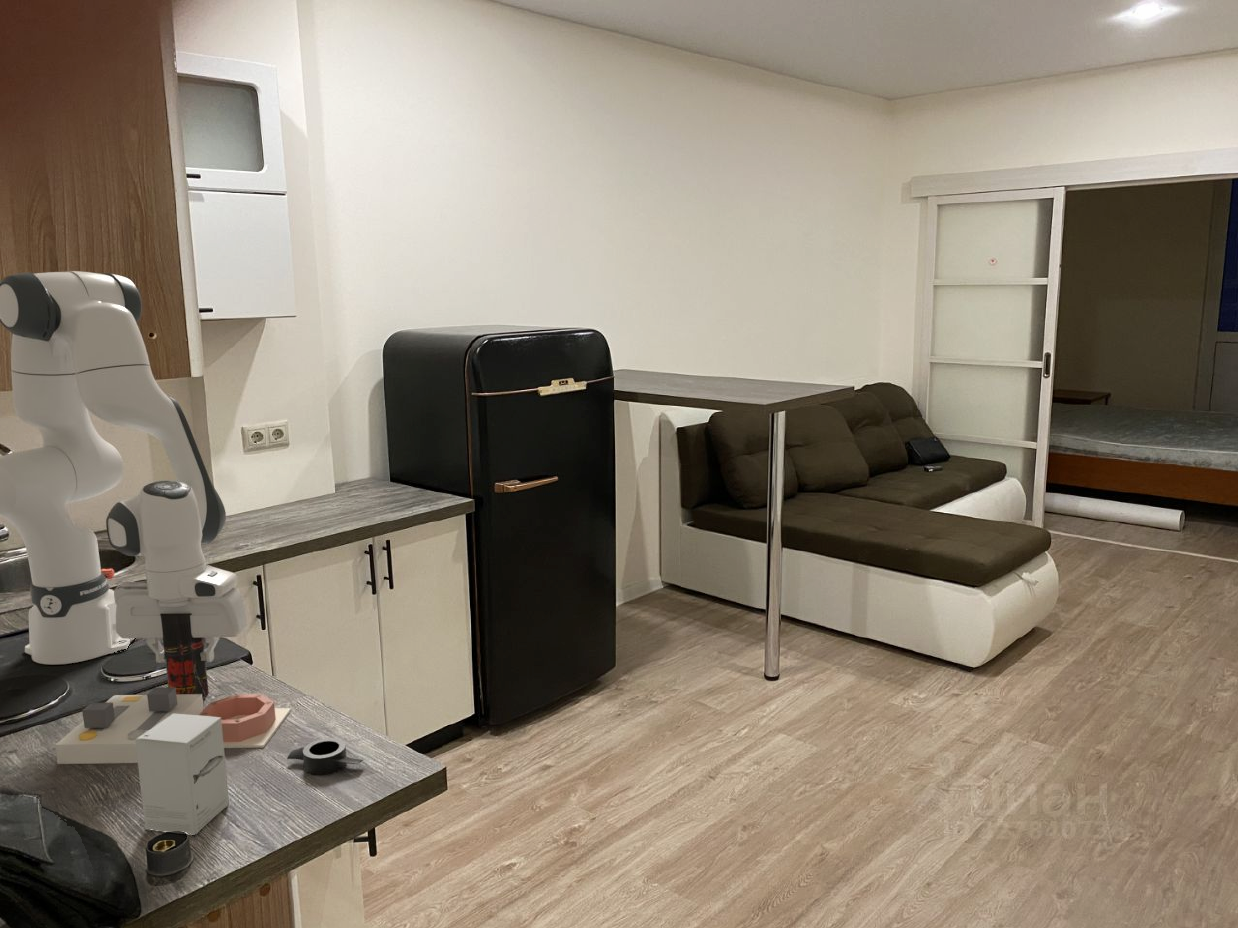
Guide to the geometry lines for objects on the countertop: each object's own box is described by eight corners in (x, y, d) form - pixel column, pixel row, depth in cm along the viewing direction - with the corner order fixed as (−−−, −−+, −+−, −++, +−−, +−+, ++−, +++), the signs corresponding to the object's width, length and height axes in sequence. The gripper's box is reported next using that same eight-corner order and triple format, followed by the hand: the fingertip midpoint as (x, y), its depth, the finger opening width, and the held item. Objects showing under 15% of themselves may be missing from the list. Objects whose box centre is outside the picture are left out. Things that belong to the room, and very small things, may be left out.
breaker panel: (116, 712, 148) (113, 692, 147) (203, 711, 148) (201, 691, 147) (57, 763, 132) (54, 741, 131) (155, 762, 132) (152, 740, 131)
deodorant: (163, 696, 154) (154, 610, 151) (199, 684, 158) (190, 601, 155) (178, 706, 150) (168, 619, 147) (214, 694, 154) (206, 609, 151)
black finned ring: (316, 790, 125) (314, 770, 124) (284, 763, 132) (282, 744, 132) (367, 769, 130) (366, 750, 130) (334, 744, 137) (333, 726, 137)
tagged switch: (93, 720, 138) (91, 702, 137) (114, 719, 138) (112, 702, 137) (84, 727, 136) (82, 710, 135) (106, 727, 136) (104, 709, 135)
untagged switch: (156, 704, 143) (154, 687, 142) (177, 704, 143) (175, 687, 142) (149, 711, 141) (147, 694, 140) (170, 711, 141) (168, 694, 140)
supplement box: (195, 837, 114) (185, 743, 112) (143, 830, 116) (132, 738, 113) (231, 804, 121) (223, 715, 119) (182, 799, 123) (172, 711, 120)
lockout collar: (216, 711, 148) (214, 691, 147) (291, 710, 148) (289, 690, 147) (182, 748, 136) (179, 727, 135) (263, 747, 136) (261, 726, 136)
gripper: (102, 588, 147) (112, 669, 149) (231, 586, 147) (239, 668, 150) (123, 575, 153) (132, 654, 156) (246, 574, 153) (253, 652, 156)
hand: (185, 660), depth 153 cm, fingers closed on deodorant, 6 cm apart
